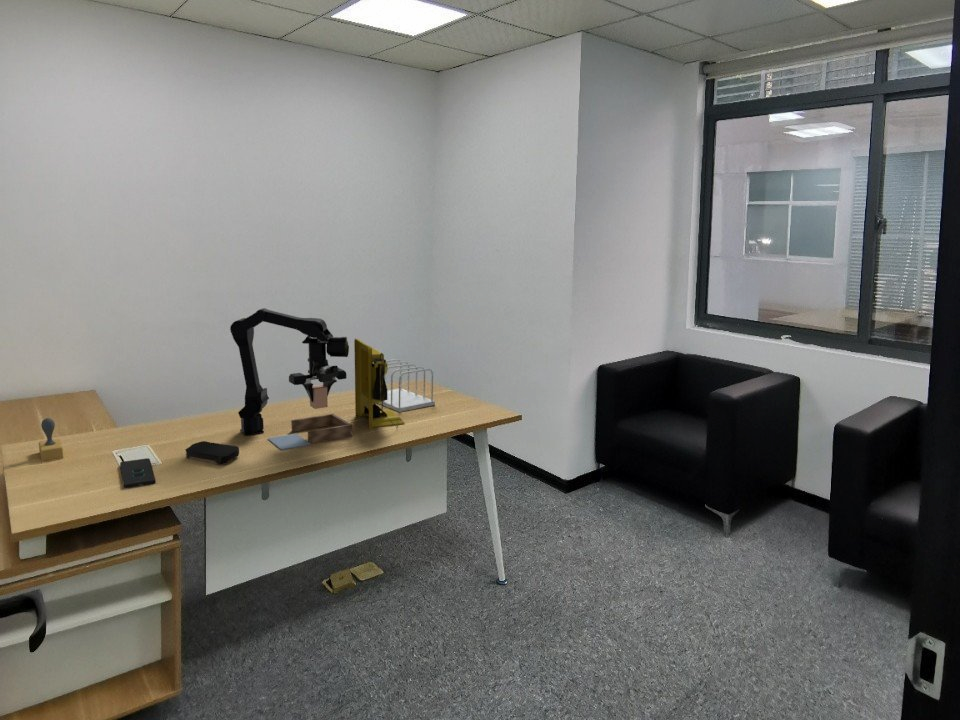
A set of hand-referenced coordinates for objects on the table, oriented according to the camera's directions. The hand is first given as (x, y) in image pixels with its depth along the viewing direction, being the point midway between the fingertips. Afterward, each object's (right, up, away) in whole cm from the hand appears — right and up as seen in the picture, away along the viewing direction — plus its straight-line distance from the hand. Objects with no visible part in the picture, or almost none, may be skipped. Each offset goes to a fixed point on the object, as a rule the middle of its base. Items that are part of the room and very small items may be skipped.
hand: (318, 400), depth 238 cm
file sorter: (+23, -3, +46) cm, 51 cm away
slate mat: (-8, -13, -7) cm, 17 cm away
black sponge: (-28, -17, -23) cm, 40 cm away
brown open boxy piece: (0, -12, +2) cm, 12 cm away
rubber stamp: (-77, -16, -24) cm, 82 cm away
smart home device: (-44, -20, -37) cm, 61 cm away
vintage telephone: (+19, -9, +18) cm, 28 cm away
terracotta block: (0, -2, 0) cm, 2 cm away
